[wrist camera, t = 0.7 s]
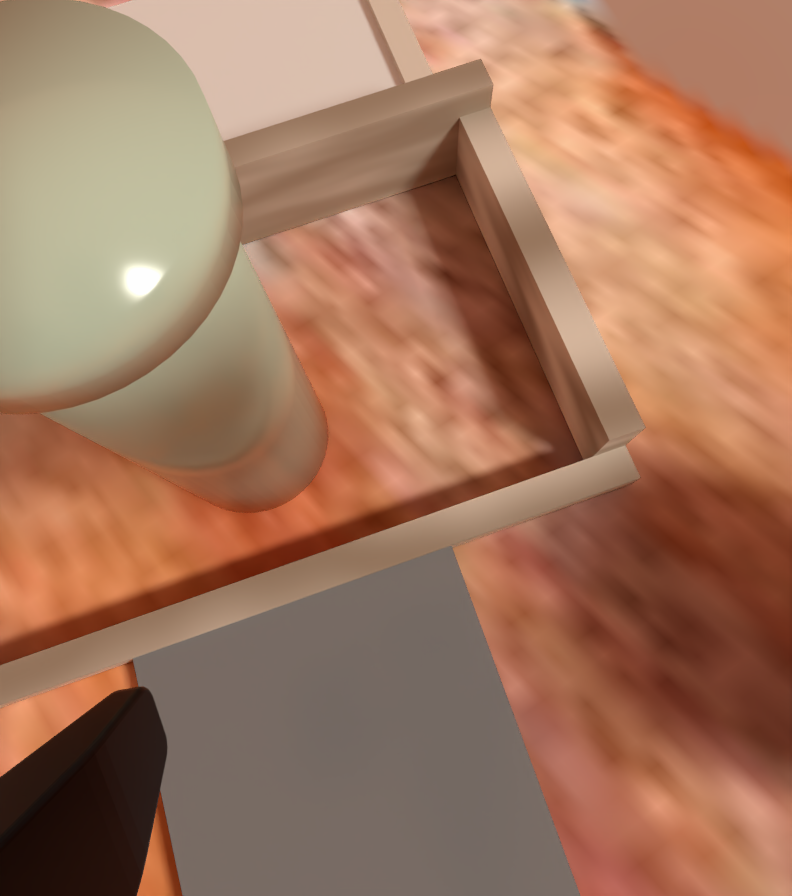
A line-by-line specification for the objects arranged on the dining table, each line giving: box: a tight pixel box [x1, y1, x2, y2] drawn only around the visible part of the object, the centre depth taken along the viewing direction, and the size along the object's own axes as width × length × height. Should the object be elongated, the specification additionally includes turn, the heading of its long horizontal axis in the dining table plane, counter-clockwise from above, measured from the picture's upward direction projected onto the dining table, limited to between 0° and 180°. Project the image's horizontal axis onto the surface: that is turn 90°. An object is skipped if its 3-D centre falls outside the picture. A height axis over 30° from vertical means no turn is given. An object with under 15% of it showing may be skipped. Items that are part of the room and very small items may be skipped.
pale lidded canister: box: [0, 0, 328, 513], centre depth 16 cm, size 7×7×14 cm
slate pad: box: [133, 546, 580, 896], centre depth 19 cm, size 11×11×1 cm
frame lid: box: [108, 0, 433, 141], centre depth 26 cm, size 12×23×1 cm, turn 109°
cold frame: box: [0, 59, 646, 708], centre depth 21 cm, size 15×24×4 cm, turn 109°
